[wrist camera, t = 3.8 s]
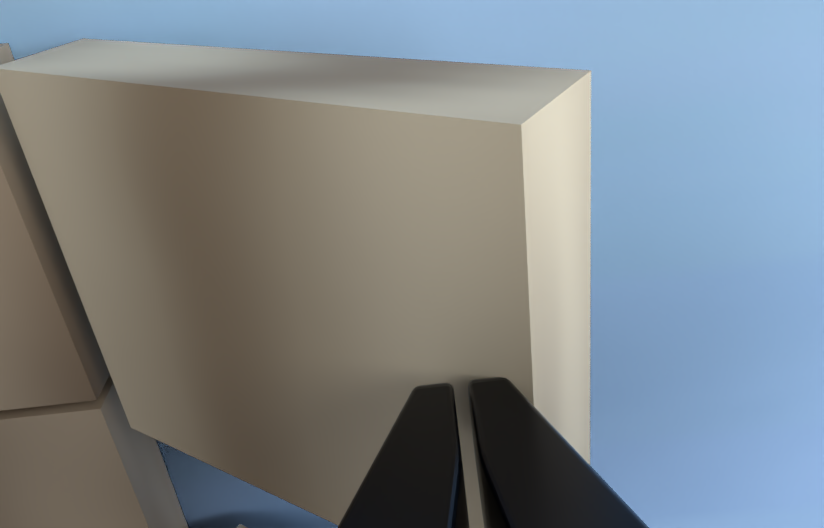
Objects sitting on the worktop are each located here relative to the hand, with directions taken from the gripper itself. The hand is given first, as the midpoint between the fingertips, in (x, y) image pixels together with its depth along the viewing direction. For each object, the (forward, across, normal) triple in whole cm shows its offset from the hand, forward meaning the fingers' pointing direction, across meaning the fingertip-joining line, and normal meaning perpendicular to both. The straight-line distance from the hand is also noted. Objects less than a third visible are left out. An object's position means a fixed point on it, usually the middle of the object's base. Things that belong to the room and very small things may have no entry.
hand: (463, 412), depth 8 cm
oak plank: (+3, +2, 0) cm, 4 cm away
